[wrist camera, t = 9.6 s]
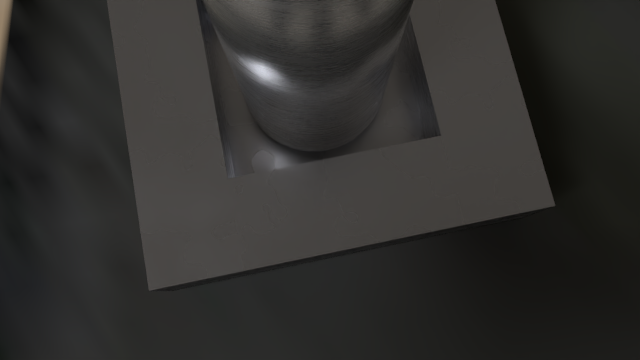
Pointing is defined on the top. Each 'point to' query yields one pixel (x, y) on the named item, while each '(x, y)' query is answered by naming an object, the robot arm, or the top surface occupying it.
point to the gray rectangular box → (318, 166)
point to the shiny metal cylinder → (311, 63)
